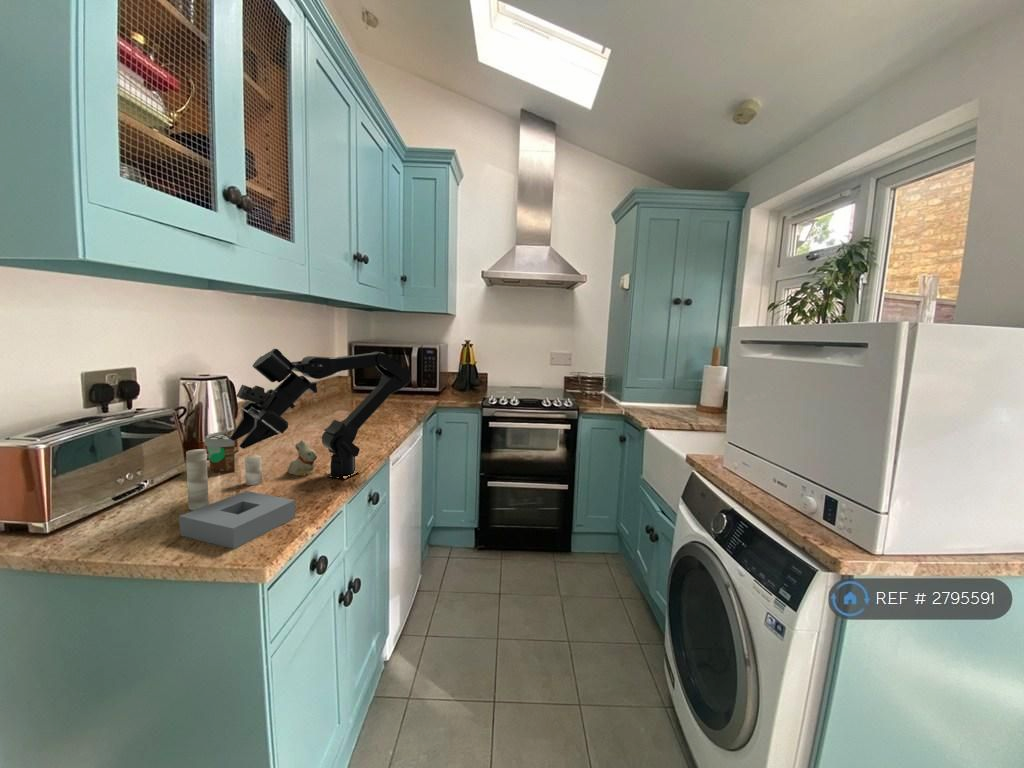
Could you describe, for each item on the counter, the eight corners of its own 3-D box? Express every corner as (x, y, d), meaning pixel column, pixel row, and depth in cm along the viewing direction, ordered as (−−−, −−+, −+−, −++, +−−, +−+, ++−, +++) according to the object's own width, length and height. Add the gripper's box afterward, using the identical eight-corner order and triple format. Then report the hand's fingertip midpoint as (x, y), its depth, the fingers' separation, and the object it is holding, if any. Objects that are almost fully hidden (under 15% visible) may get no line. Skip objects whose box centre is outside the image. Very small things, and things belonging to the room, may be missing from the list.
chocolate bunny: (300, 478, 110) (299, 443, 109) (284, 472, 114) (284, 438, 113) (318, 473, 114) (318, 439, 113) (303, 467, 118) (302, 435, 117)
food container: (202, 466, 116) (200, 433, 115) (227, 462, 120) (226, 430, 119) (208, 477, 107) (207, 442, 106) (235, 473, 112) (234, 438, 111)
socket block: (246, 507, 90) (246, 490, 90) (295, 517, 86) (295, 500, 86) (180, 535, 77) (179, 516, 76) (234, 548, 73) (233, 528, 72)
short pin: (254, 479, 107) (254, 454, 106) (265, 481, 106) (264, 456, 105) (242, 484, 104) (241, 458, 103) (253, 486, 103) (252, 460, 102)
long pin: (201, 502, 92) (198, 448, 90) (212, 504, 91) (210, 450, 89) (184, 508, 88) (181, 452, 87) (196, 511, 87) (193, 454, 86)
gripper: (249, 370, 102) (198, 416, 95) (271, 376, 89) (213, 430, 82) (284, 397, 109) (237, 442, 102) (309, 407, 96) (258, 459, 89)
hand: (236, 443), depth 94 cm, fingers open, 9 cm apart
